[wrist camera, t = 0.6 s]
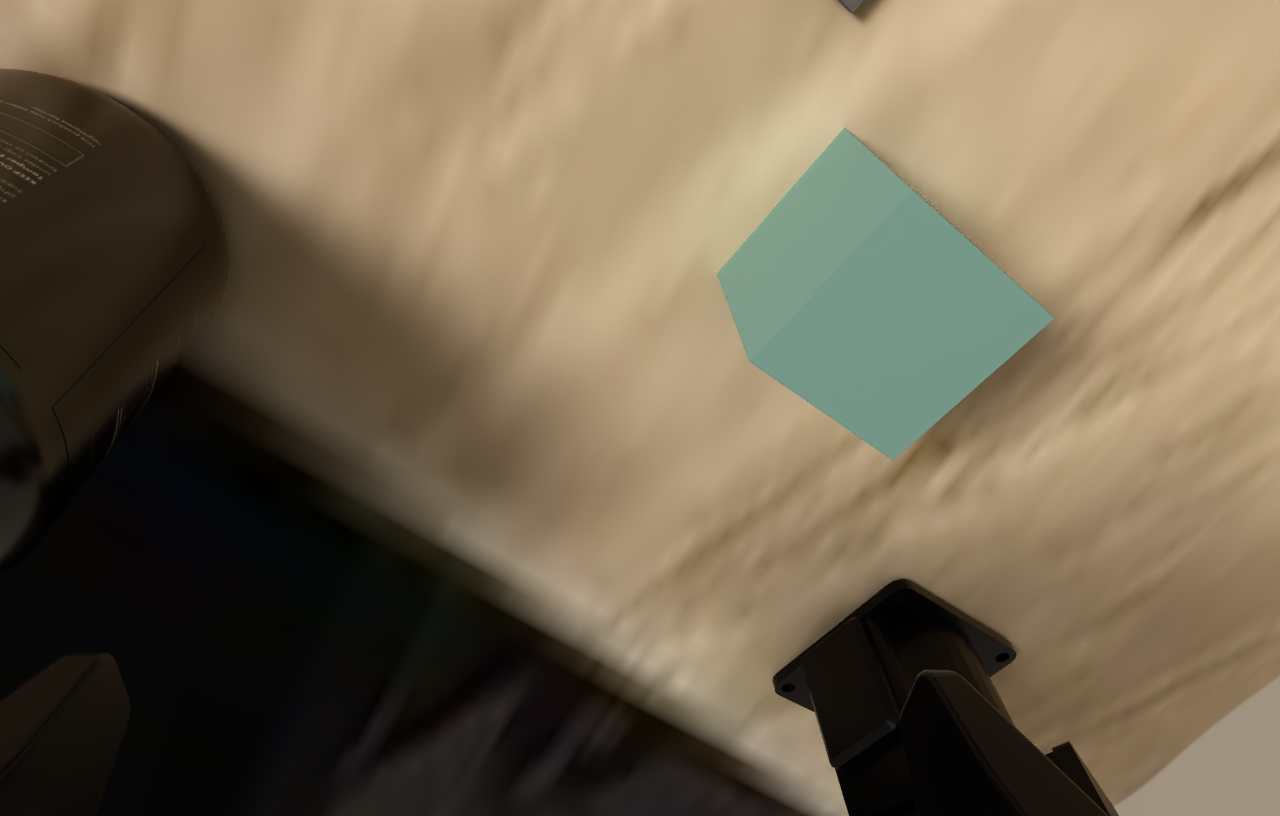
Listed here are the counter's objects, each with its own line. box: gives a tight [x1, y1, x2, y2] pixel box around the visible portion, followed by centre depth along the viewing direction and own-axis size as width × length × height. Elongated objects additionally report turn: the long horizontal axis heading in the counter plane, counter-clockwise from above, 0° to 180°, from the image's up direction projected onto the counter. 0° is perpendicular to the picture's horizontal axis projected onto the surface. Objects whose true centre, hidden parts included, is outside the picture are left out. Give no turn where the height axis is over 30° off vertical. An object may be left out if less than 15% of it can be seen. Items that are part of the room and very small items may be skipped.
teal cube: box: [717, 128, 1054, 460], centre depth 18 cm, size 4×4×4 cm
